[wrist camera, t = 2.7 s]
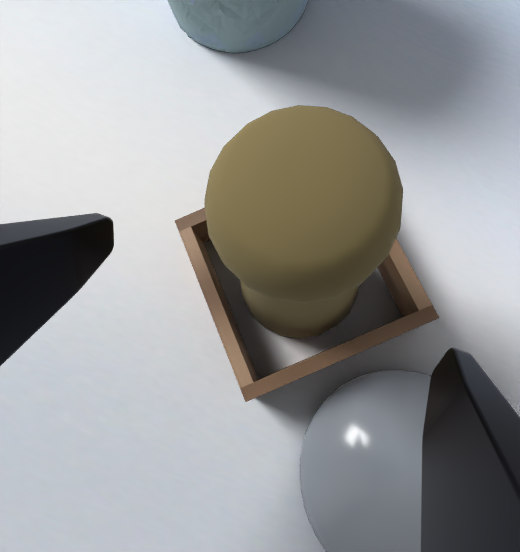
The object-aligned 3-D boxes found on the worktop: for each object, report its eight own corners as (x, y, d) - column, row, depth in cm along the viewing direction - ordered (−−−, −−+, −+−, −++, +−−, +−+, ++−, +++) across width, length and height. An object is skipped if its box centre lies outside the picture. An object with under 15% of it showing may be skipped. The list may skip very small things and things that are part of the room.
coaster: (550, 539, 16) (563, 548, 15) (353, 625, 16) (356, 638, 15) (443, 339, 18) (449, 338, 17) (268, 415, 18) (267, 417, 17)
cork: (239, 224, 20) (176, 72, 10) (355, 219, 20) (425, 52, 9) (239, 339, 19) (166, 313, 8) (363, 337, 18) (458, 306, 8)
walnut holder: (420, 323, 18) (439, 317, 16) (252, 396, 18) (245, 402, 16) (340, 171, 20) (346, 146, 18) (189, 237, 20) (174, 220, 18)
